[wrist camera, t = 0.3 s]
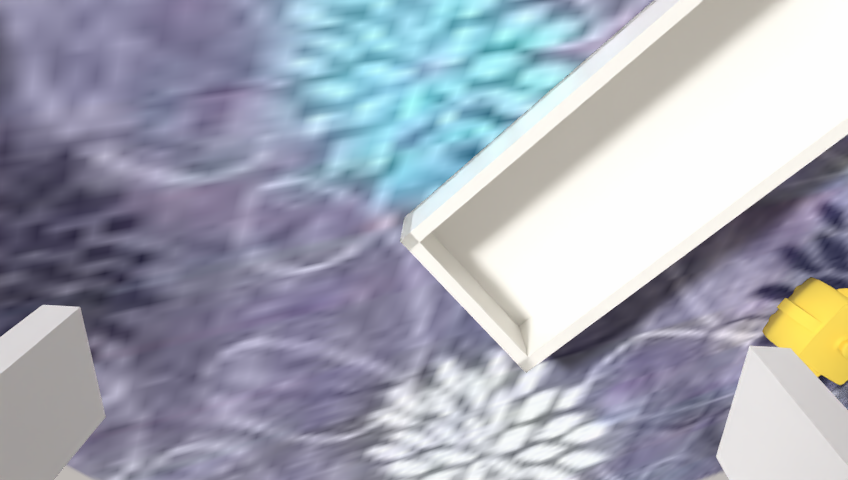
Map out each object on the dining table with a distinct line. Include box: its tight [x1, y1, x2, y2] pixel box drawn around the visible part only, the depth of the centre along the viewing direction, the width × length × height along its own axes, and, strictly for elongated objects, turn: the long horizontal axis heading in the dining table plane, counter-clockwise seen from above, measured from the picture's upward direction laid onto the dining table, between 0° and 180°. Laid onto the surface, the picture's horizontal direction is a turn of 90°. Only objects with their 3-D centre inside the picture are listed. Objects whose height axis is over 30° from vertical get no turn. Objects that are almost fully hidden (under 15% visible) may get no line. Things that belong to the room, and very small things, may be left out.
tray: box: [400, 0, 848, 373], centre depth 34 cm, size 32×12×5 cm, turn 132°
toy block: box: [763, 277, 848, 385], centre depth 38 cm, size 8×6×5 cm
